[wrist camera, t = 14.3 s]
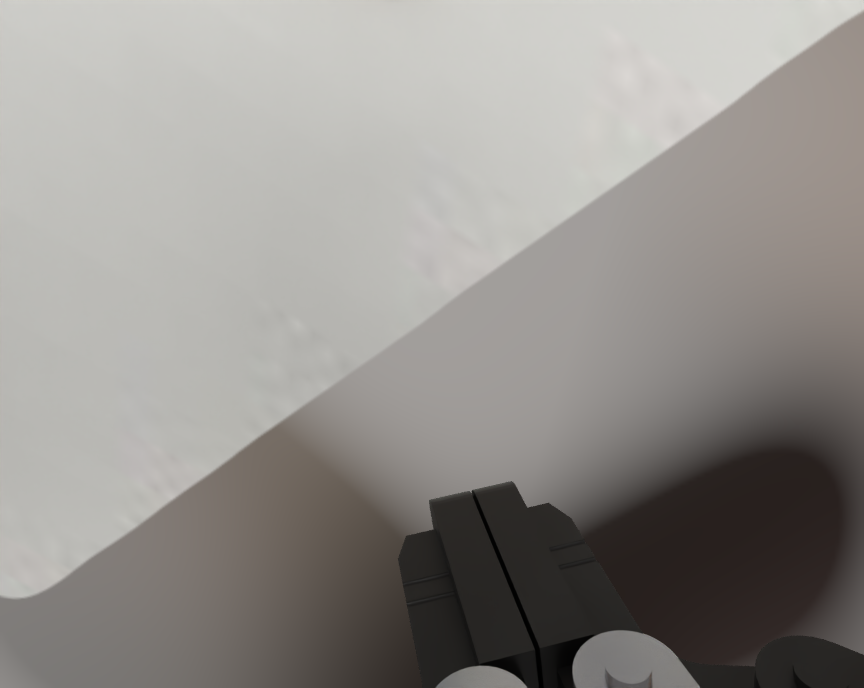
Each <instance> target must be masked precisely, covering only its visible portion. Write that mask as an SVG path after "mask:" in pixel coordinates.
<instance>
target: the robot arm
mask: <svg viewBox="0 0 864 688" xmlns="http://www.w3.org/2000/svg"><path fill="white" fill-rule="evenodd" d="M429 504H430V511H431V517H432V523H433V528H434V530H430V531H426V532H421V533H417V534H413V535H408V536H406V538H405V541H404V544H403V547H402V549H401V552H400V555H399V558H398V561H399V566H400V571H401V576H402V582H403V587H404V592H405V597H406V602H407V607H408V613H409V618H410V623H411V628H412V633H413V639H414V643H415V649H416V654H417V659H418V664H419V670H420V674H421V679H422V687H423V688H864V655H863V654H860V653H858V652H855V651H853V650H850V649H848V648H845V647H843V646H840V645H838V644H835V643H832V642H829V641H826V640H824V639H819V638H814V637H808V636H787V637H782V638H779V639H776V640H773V641H772V642H770V643H768V644H767V645H766V646H765V647H763V648H762V649H761V651H760V652H759V654H758V656H757V659H756V663H755V667H753V666H727V665H708V664H699V663H694V662H689V661H686V660H683V659H680V658H677V657H676V656H675V654H674V653H673V652H672V651H671V650H670V649H669V648H668V647H667V646H665V645H664V644H663V643H661V642H659V641H658V640H656V639H654V638H652V637H650V636H648V635H645V634H643V632H642V631H641V630H640V628H639V627H638V625H637V624H636V622H635V621H634V619H633V618H632V616H631V614H630V612H629V611H628V609H627V608H626V606H625V604H624V603H623V601H622V600H621V598H620V596H619V595H618V593H617V591H616V590H615V588H614V587H613V585H612V584H611V582H610V580H609V579H608V577H607V575H606V574H605V572H604V571H603V569H602V567H601V566H600V564H599V562H597V561H596V560H595V556H594V555H593V553H592V551H591V550H590V548H589V546H588V545H587V544H585V542H584V538H583V537H582V535H581V534H580V532H579V530H578V529H577V527H576V525H575V524H574V522H573V521H572V519H571V518H570V517H569V516H567V515H566V514H564V513H563V512H561V511H560V510H558V509H557V508H555V507H554V506H552V505H551V504H549V503H546V504H542V505H537V506H533V507H529V508H527V506H526V504H525V503H524V501H523V499H522V497H521V495H520V493H519V491H518V489H517V487H516V486H515V484H514V483H513V482H512V481H511V482H506V483H502V484H497V485H493V486H488V487H484V488H480V489H475V490H472V494H471V493H470V491H467V492H462V493H458V494H454V495H449V496H445V497H440V498H436V499H431V500H429Z"/></svg>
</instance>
